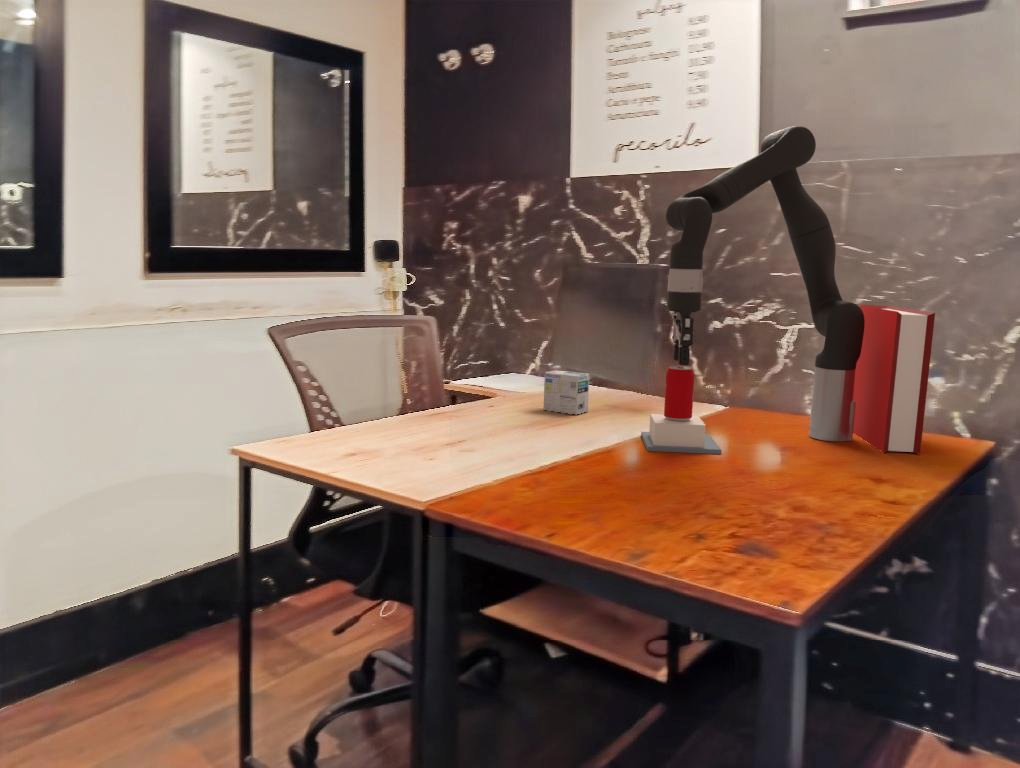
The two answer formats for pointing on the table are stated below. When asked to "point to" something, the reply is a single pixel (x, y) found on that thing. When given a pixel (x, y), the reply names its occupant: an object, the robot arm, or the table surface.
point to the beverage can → (679, 393)
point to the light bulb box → (566, 392)
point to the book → (893, 377)
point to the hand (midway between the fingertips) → (680, 362)
